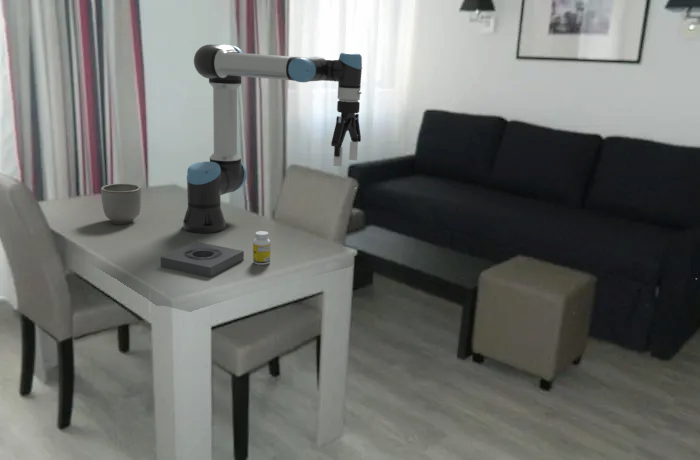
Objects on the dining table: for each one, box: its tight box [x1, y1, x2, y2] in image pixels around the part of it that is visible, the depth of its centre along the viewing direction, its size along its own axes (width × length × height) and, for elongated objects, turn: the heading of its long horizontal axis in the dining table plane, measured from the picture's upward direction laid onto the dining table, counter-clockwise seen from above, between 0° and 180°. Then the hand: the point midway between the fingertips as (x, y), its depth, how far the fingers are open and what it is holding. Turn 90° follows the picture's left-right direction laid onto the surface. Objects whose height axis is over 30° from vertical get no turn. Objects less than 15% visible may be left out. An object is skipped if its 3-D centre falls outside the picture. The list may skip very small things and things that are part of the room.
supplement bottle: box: [252, 230, 271, 266], centre depth 202 cm, size 5×5×10 cm
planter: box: [100, 183, 142, 225], centre depth 236 cm, size 14×14×13 cm
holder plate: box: [160, 241, 245, 278], centre depth 199 cm, size 18×18×3 cm
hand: (345, 163), depth 222 cm, fingers open, 13 cm apart
